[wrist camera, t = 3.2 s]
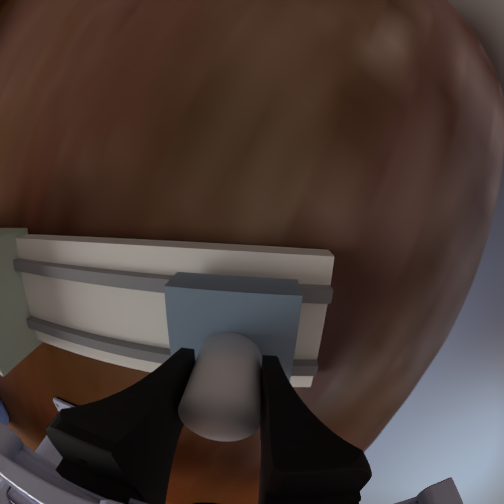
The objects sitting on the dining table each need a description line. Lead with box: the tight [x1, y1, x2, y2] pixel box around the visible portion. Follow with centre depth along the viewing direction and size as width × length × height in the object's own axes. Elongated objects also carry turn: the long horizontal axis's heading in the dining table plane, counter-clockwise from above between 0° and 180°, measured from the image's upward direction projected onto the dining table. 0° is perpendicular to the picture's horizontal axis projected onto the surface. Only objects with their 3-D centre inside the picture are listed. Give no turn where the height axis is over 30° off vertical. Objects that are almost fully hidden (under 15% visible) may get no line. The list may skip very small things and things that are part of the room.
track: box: [0, 228, 334, 387], centre depth 14 cm, size 10×30×7 cm, turn 87°
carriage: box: [164, 272, 303, 441], centre depth 11 cm, size 7×6×6 cm
